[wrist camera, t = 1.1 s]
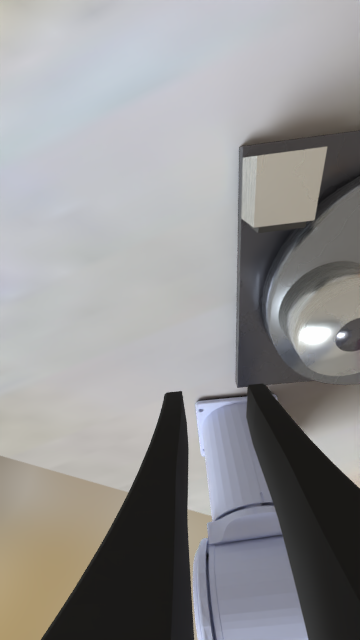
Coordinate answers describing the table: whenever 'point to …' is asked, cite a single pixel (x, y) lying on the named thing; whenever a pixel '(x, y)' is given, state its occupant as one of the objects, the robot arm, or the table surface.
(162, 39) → the table surface
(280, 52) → the table surface
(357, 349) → the cover
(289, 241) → the turntable
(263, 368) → the base plate
